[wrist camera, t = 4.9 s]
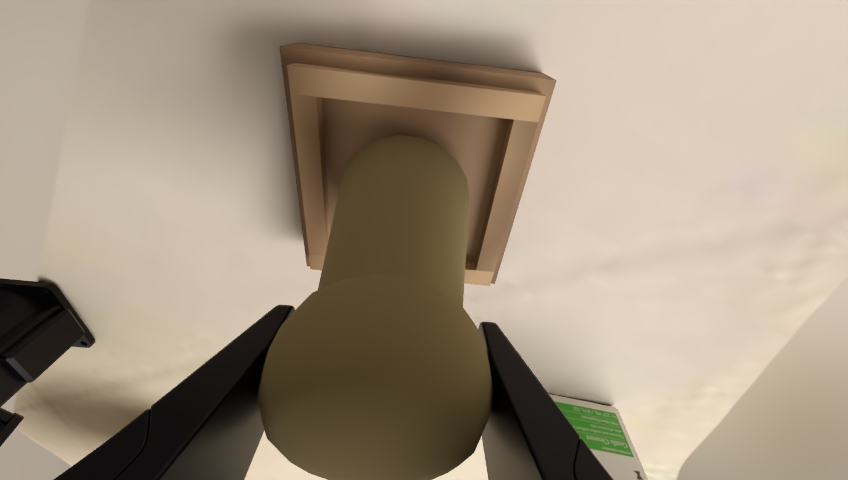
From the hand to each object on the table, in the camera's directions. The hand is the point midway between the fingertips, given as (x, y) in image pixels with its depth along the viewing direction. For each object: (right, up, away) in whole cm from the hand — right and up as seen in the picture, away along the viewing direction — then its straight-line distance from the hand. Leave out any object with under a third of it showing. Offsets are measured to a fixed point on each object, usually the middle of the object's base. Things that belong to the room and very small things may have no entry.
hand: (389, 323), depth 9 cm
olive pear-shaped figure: (0, +4, +6) cm, 8 cm away
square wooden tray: (0, +6, +9) cm, 10 cm away
